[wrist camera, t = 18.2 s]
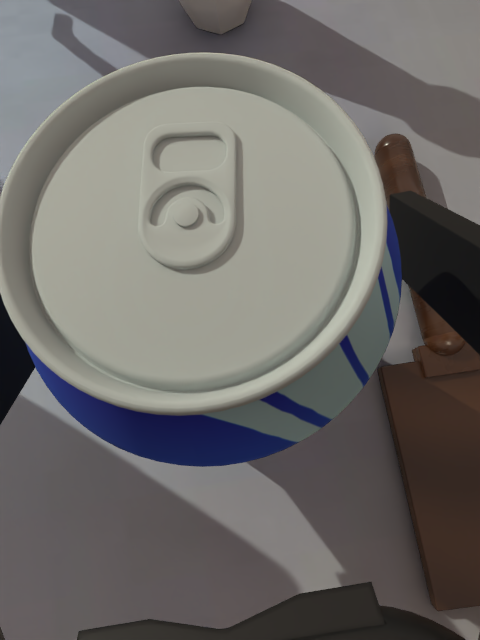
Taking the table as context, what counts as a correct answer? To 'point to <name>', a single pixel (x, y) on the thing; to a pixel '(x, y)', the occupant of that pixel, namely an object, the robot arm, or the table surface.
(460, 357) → the spatula
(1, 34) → the table surface
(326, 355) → the beer can
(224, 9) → the salt shaker
